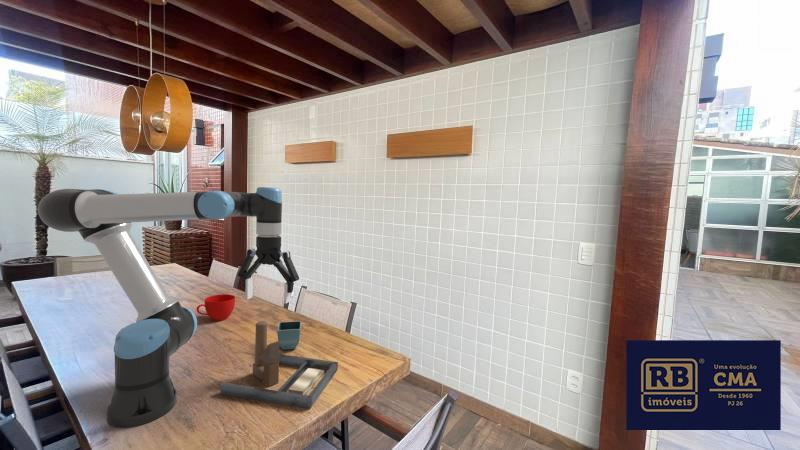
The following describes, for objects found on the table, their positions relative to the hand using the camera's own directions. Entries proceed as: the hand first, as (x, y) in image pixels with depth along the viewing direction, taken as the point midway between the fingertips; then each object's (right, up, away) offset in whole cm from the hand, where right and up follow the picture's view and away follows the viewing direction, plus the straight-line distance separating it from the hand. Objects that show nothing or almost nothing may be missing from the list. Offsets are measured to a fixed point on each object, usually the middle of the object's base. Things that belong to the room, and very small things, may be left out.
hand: (268, 300), depth 106 cm
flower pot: (-2, -25, +25) cm, 35 cm away
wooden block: (-2, -27, +2) cm, 27 cm away
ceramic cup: (-45, -21, +49) cm, 70 cm away
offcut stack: (+13, -28, 0) cm, 31 cm away
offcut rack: (+5, -27, +1) cm, 27 cm away
